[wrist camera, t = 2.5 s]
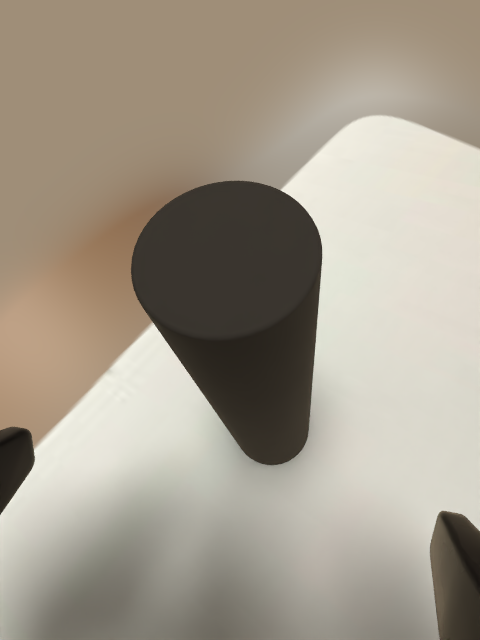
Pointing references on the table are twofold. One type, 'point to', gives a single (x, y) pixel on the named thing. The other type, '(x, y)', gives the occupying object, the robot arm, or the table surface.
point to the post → (238, 306)
